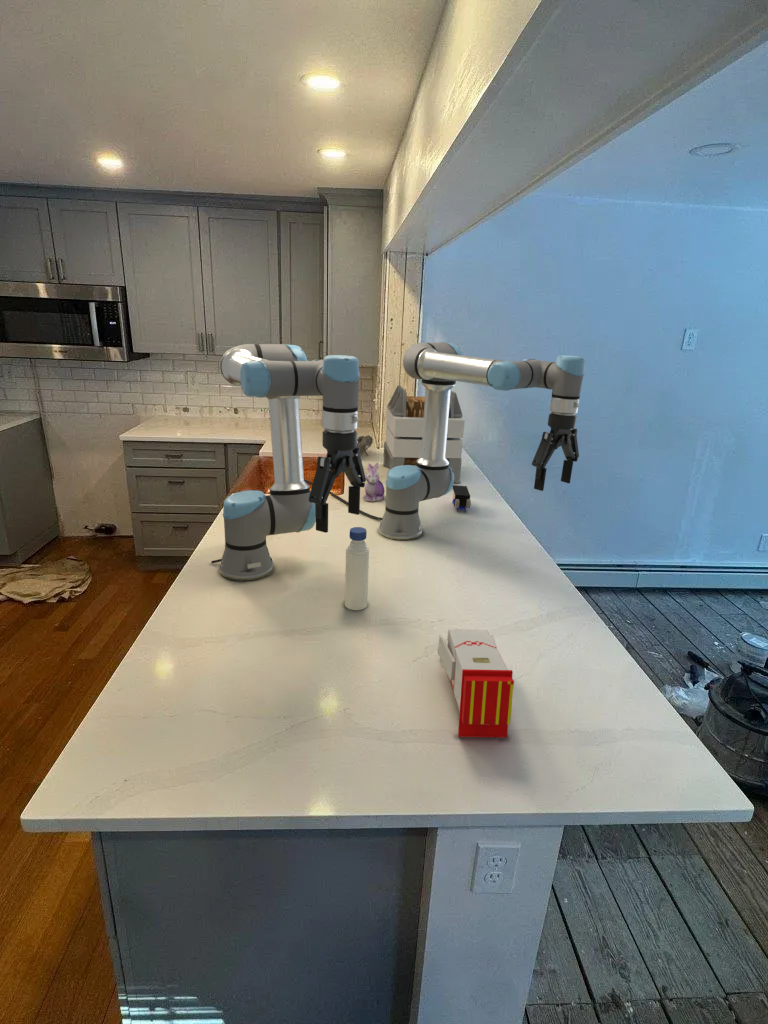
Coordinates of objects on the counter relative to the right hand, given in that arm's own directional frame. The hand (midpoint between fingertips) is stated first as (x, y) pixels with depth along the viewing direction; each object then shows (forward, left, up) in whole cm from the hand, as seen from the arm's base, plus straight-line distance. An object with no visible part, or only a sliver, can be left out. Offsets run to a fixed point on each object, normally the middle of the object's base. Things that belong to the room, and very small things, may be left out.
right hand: (552, 485), depth 166 cm
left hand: (-10, -70, 0) cm, 70 cm away
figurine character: (-55, +25, -28) cm, 67 cm away
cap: (-18, -58, -7) cm, 61 cm away
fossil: (-144, +44, -28) cm, 153 cm away
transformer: (-101, +46, -28) cm, 115 cm away
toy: (+26, -62, -28) cm, 72 cm away
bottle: (-18, -58, -28) cm, 67 cm away
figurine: (-83, +3, -28) cm, 88 cm away
